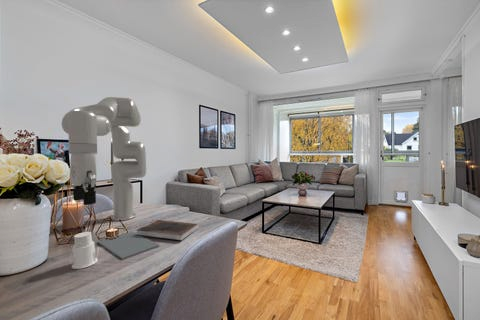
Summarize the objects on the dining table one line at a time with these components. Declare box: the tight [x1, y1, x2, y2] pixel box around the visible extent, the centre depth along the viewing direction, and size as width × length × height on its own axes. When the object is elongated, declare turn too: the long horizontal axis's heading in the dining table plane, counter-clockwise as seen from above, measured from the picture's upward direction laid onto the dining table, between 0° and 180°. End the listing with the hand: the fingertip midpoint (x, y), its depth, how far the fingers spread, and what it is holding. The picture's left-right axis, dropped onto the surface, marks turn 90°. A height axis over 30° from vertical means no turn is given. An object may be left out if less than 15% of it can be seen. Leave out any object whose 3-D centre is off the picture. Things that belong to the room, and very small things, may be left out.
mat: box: [97, 231, 160, 261], centre depth 88 cm, size 22×14×1 cm, turn 52°
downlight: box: [69, 231, 100, 270], centre depth 73 cm, size 8×7×10 cm
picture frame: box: [135, 219, 199, 241], centre depth 102 cm, size 16×2×22 cm
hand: (84, 201), depth 72 cm, fingers open, 9 cm apart
